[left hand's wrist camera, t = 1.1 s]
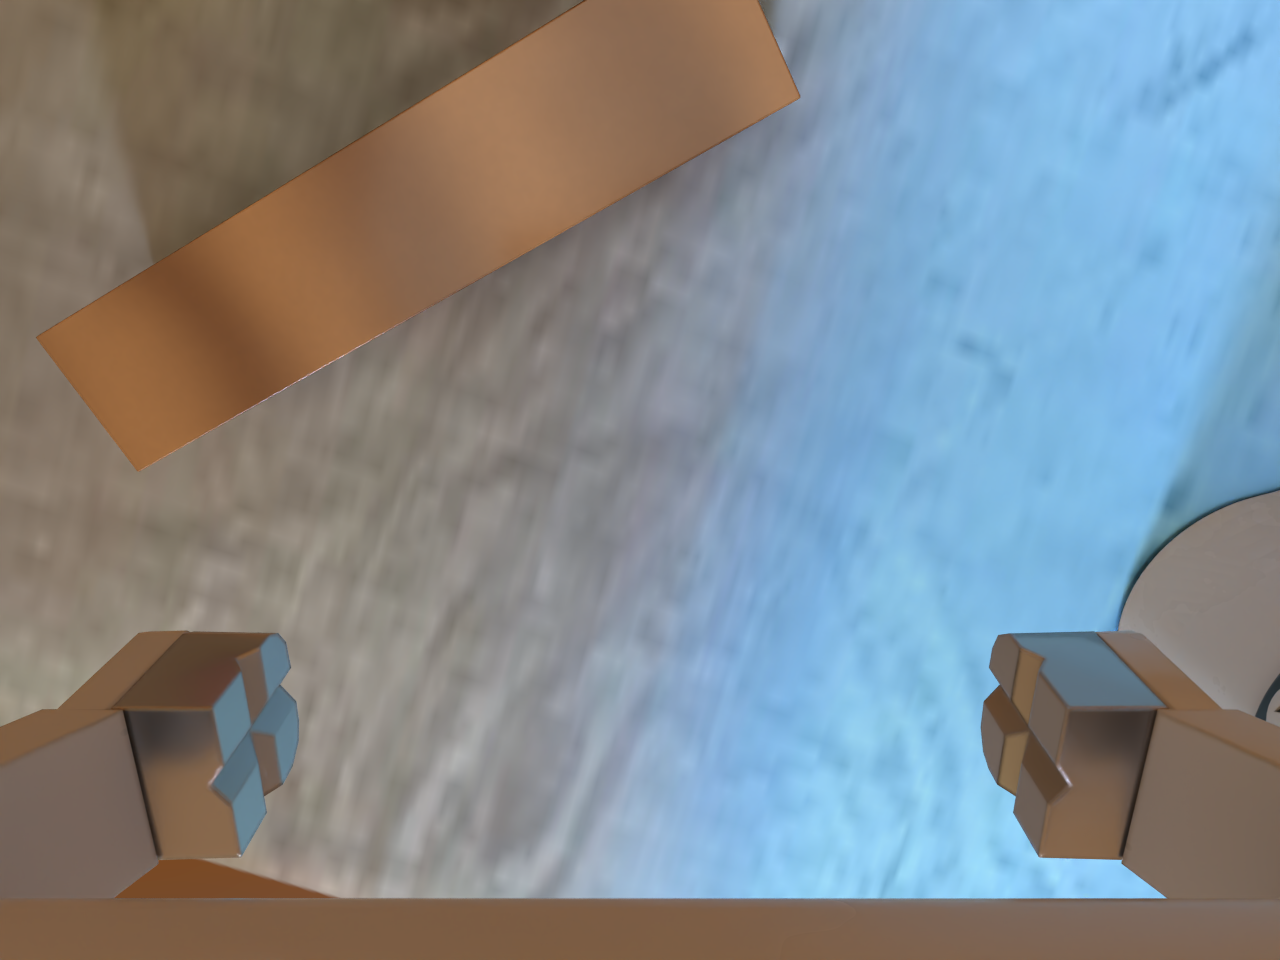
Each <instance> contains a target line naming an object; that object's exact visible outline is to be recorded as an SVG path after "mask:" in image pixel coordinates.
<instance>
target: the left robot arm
mask: <svg viewBox="0 0 1280 960" xmlns="http://www.w3.org/2000/svg"><path fill="white" fill-rule="evenodd" d="M290 668H291V665H290V660H289V655H288V650H287V645H286V642H285V640H284V639H283V638H282V637H281V636H280V635H279V634H278V633H247V632H189V631H151V632H143V633H138V634H137V635H136V636H135V637H134V638H133V639H132V640H131V641H130V642H129V643H127V644H126V645H125V646H124V647H123V648H122V649H121V650H120V651H119V652H118V653H117V654H116V655H115V656H114V657H112V658H111V659H110V660H109V661H108V662H107V663H106V664H105V665H104V666H103V667H102V668H101V669H100V670H99V671H98V672H96V673H95V674H94V675H93V676H92V677H91V678H90V679H89V680H88V681H87V682H86V683H85V684H84V685H83V686H82V687H80V688H79V689H78V690H77V691H76V692H75V693H74V694H73V695H72V696H71V697H70V698H69V699H68V700H67V701H66V702H64V703H63V704H62V705H61V706H60V707H59V708H58V709H42V710H40V711H37V712H35V713H33V714H30V715H28V716H25V717H23V718H21V719H18V720H16V721H13V722H11V723H9V724H6V725H4V726H1V727H0V960H1280V490H1279V491H1275V492H1271V493H1268V494H1264V495H1260V496H1256V497H1252V498H1248V499H1245V500H1242V501H1239V502H1236V503H1234V504H1231V505H1228V506H1226V507H1224V508H1222V509H1220V510H1217V511H1215V512H1213V513H1211V514H1209V515H1208V516H1206V517H1204V518H1202V519H1201V520H1199V521H1197V522H1196V523H1194V524H1193V525H1191V526H1190V527H1188V528H1187V529H1185V530H1184V531H1183V532H1181V533H1180V534H1179V535H1178V536H1176V537H1175V538H1174V539H1173V540H1172V541H1171V542H1169V543H1168V544H1167V545H1166V546H1165V547H1164V548H1163V549H1162V550H1161V551H1160V552H1159V553H1158V554H1157V555H1156V556H1155V558H1154V559H1153V560H1152V561H1151V562H1150V563H1149V565H1148V566H1147V567H1146V569H1145V570H1144V571H1143V573H1142V574H1141V576H1140V577H1139V579H1138V580H1137V582H1136V583H1135V585H1134V587H1133V589H1132V591H1131V593H1130V595H1129V597H1128V599H1127V601H1126V604H1125V606H1124V609H1123V612H1122V615H1121V618H1120V623H1119V627H1118V631H1104V632H1053V633H1012V634H1002V635H998V637H997V639H996V641H995V643H994V646H993V648H992V653H991V659H990V665H989V668H990V670H991V671H992V673H993V675H994V676H995V678H996V679H997V681H998V682H999V684H1000V685H999V686H998V687H997V688H996V689H995V690H994V691H993V692H992V693H991V694H990V696H989V697H988V698H987V699H986V700H985V701H984V704H983V712H982V721H981V735H982V745H983V752H984V756H985V759H986V762H987V765H988V768H989V770H990V772H991V774H992V776H993V778H994V779H995V781H996V783H997V785H999V786H1000V787H1002V788H1004V789H1005V790H1007V791H1008V792H1010V793H1012V794H1013V795H1015V796H1016V799H1015V805H1014V811H1013V813H1014V815H1015V817H1016V818H1017V820H1018V822H1019V823H1020V825H1021V827H1022V829H1023V830H1024V832H1025V834H1026V836H1027V837H1028V839H1029V841H1030V842H1031V844H1032V846H1033V848H1034V849H1035V851H1036V853H1037V855H1038V856H1039V858H1076V859H1112V860H1122V864H1123V865H1124V866H1126V867H1127V868H1128V869H1130V870H1131V871H1132V872H1133V873H1135V874H1136V875H1137V876H1139V877H1140V878H1141V879H1143V880H1144V881H1145V882H1147V883H1148V884H1149V885H1151V886H1152V887H1153V888H1155V889H1156V890H1157V891H1159V892H1160V893H1161V894H1162V895H1164V896H1165V897H1166V898H811V899H810V898H801V899H800V898H791V899H790V898H781V899H780V898H776V899H775V898H773V899H772V898H771V899H770V898H766V899H765V898H756V899H755V898H751V899H750V898H749V899H748V898H746V899H745V898H744V899H743V898H741V899H740V898H739V899H737V898H736V899H735V898H734V899H733V898H731V899H730V898H729V899H727V898H726V899H725V898H724V899H722V898H721V899H720V898H719V899H717V898H716V899H715V898H714V899H712V898H711V899H710V898H709V899H708V898H706V899H705V898H704V899H702V898H701V899H700V898H699V899H698V898H696V899H695V898H694V899H692V898H691V899H690V898H689V899H685V898H684V899H680V898H679V899H670V898H669V899H663V898H662V899H660V898H659V899H655V898H654V899H645V898H644V899H511V898H114V897H115V896H116V895H118V894H119V893H120V892H122V891H123V890H124V889H126V888H127V887H128V886H130V885H131V884H132V883H134V882H135V881H136V880H138V879H139V878H140V877H141V876H143V875H144V874H145V873H147V872H148V871H149V870H151V869H152V868H153V867H155V866H156V865H157V864H158V860H167V859H202V858H238V857H241V856H242V855H243V853H244V851H245V849H246V848H247V846H248V844H249V843H250V841H251V839H252V837H253V836H254V834H255V832H256V830H257V829H258V827H259V825H260V823H261V822H262V820H263V818H264V817H265V815H266V813H267V811H266V805H265V799H264V796H265V795H267V794H268V793H270V792H272V791H273V790H275V789H276V788H278V787H280V786H281V785H283V783H284V781H285V779H286V777H287V776H288V774H289V772H290V770H291V768H292V766H293V762H294V758H295V754H296V750H297V745H298V740H299V718H298V711H297V704H296V701H295V700H294V699H293V698H292V697H291V696H290V694H289V693H288V692H287V691H286V690H285V689H284V688H283V687H282V686H281V685H280V684H281V682H282V681H283V679H284V678H285V676H286V674H287V673H288V671H289V670H290Z"/></svg>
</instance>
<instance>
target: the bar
mask: <svg viewBox="0 0 1280 960" xmlns="http://www.w3.org/2000/svg"><path fill="white" fill-rule="evenodd" d="M799 98H800V94H799V92H798V89H797V87H796V85H795V83H794V80H793V78H792V76H791V74H790V71H789V69H788V67H787V65H786V62H785V60H784V58H783V55H782V53H781V51H780V49H779V46H778V44H777V42H776V40H775V37H774V35H773V33H772V30H771V28H770V26H769V24H768V21H767V19H766V17H765V15H764V12H763V10H762V8H761V6H760V3H759V1H758V0H584V1H582V2H581V3H579V4H577V5H576V6H574V7H573V8H571V9H569V10H568V11H566V12H564V13H563V14H561V15H560V16H558V17H556V18H555V19H553V20H551V21H550V22H548V23H547V24H545V25H543V26H542V27H540V28H538V29H537V30H535V31H534V32H532V33H530V34H529V35H527V36H525V37H524V38H522V39H520V40H519V41H517V42H516V43H514V44H512V45H511V46H509V47H507V48H506V49H504V50H503V51H501V52H499V53H498V54H496V55H494V56H493V57H491V58H490V59H488V60H486V61H485V62H483V63H481V64H480V65H478V66H477V67H475V68H473V69H472V70H470V71H468V72H467V73H465V74H463V75H462V76H460V77H459V78H457V79H455V80H454V81H452V82H450V83H449V84H447V85H446V86H444V87H442V88H441V89H439V90H437V91H436V92H434V93H433V94H431V95H429V96H428V97H426V98H424V99H423V100H421V101H420V102H418V103H416V104H415V105H413V106H411V107H410V108H408V109H406V110H405V111H403V112H402V113H400V114H398V115H397V116H395V117H393V118H392V119H390V120H389V121H387V122H385V123H384V124H382V125H380V126H379V127H377V128H376V129H374V130H372V131H371V132H369V133H367V134H366V135H364V136H362V137H361V138H359V139H358V140H356V141H354V142H353V143H351V144H349V145H348V146H346V147H345V148H343V149H341V150H340V151H338V152H336V153H335V154H333V155H332V156H330V157H328V158H327V159H325V160H323V161H322V162H320V163H319V164H317V165H315V166H314V167H312V168H310V169H309V170H307V171H305V172H304V173H302V174H301V175H299V176H297V177H296V178H294V179H292V180H291V181H289V182H288V183H286V184H284V185H283V186H281V187H279V188H278V189H276V190H275V191H273V192H271V193H270V194H268V195H266V196H265V197H263V198H262V199H260V200H258V201H257V202H255V203H253V204H252V205H250V206H248V207H247V208H245V209H244V210H242V211H240V212H239V213H237V214H235V215H234V216H232V217H231V218H229V219H227V220H226V221H224V222H222V223H221V224H219V225H218V226H216V227H214V228H213V229H211V230H209V231H208V232H206V233H205V234H203V235H201V236H200V237H198V238H196V239H195V240H193V241H191V242H190V243H188V244H187V245H185V246H183V247H182V248H180V249H178V250H177V251H175V252H174V253H172V254H170V255H169V256H167V257H165V258H164V259H162V260H161V261H159V262H157V263H156V264H154V265H152V266H151V267H149V268H148V269H146V270H144V271H143V272H141V273H139V274H138V275H136V276H134V277H133V278H131V279H130V280H128V281H126V282H125V283H123V284H121V285H120V286H118V287H117V288H115V289H113V290H112V291H110V292H108V293H107V294H105V295H104V296H102V297H100V298H99V299H97V300H95V301H94V302H92V303H91V304H89V305H87V306H86V307H84V308H82V309H81V310H79V311H77V312H76V313H74V314H73V315H71V316H69V317H68V318H66V319H64V320H63V321H61V322H60V323H58V324H56V325H55V326H53V327H51V328H50V329H48V330H47V331H45V332H43V333H42V334H40V335H38V336H37V337H36V338H37V340H38V341H39V342H40V344H41V345H42V346H43V347H44V349H45V350H46V351H47V353H48V354H49V355H50V357H51V358H52V359H53V361H54V362H55V363H56V365H57V366H58V367H59V369H60V370H61V371H62V373H63V374H64V375H65V376H66V378H67V379H68V380H69V382H70V383H71V384H72V386H73V387H74V388H75V390H76V391H77V392H78V394H79V395H80V396H81V398H82V399H83V400H84V402H85V403H86V404H87V405H88V407H89V408H90V409H91V411H92V412H93V413H94V415H95V416H96V417H97V419H98V420H99V421H100V423H101V424H102V425H103V427H104V428H105V429H106V430H107V432H108V433H109V434H110V436H111V437H112V438H113V440H114V441H115V442H116V444H117V445H118V446H119V448H120V449H121V450H122V452H123V453H124V454H125V456H126V457H127V458H128V459H129V461H130V462H131V463H132V465H133V466H134V467H135V469H136V470H137V471H141V470H143V469H145V468H146V467H148V466H150V465H152V464H153V463H155V462H157V461H159V460H161V459H162V458H164V457H166V456H168V455H169V454H171V453H173V452H175V451H176V450H178V449H180V448H182V447H184V446H185V445H187V444H189V443H191V442H192V441H194V440H196V439H198V438H200V437H201V436H203V435H205V434H207V433H208V432H210V431H212V430H214V429H215V428H217V427H219V426H221V425H223V424H224V423H226V422H228V421H230V420H231V419H233V418H235V417H237V416H238V415H240V414H242V413H244V412H246V411H247V410H249V409H251V408H253V407H254V406H256V405H258V404H260V403H261V402H263V401H265V400H267V399H269V398H270V397H272V396H274V395H276V394H277V393H279V392H281V391H283V390H284V389H286V388H288V387H290V386H292V385H293V384H295V383H297V382H299V381H300V380H302V379H304V378H306V377H307V376H309V375H311V374H313V373H315V372H316V371H318V370H320V369H322V368H323V367H325V366H327V365H329V364H330V363H332V362H334V361H336V360H338V359H339V358H341V357H343V356H345V355H346V354H348V353H350V352H352V351H353V350H355V349H357V348H359V347H361V346H362V345H364V344H366V343H368V342H369V341H371V340H373V339H375V338H376V337H378V336H380V335H382V334H384V333H385V332H387V331H389V330H391V329H392V328H394V327H396V326H398V325H399V324H401V323H403V322H405V321H407V320H408V319H410V318H412V317H414V316H415V315H417V314H419V313H421V312H422V311H424V310H426V309H428V308H430V307H431V306H433V305H435V304H437V303H438V302H440V301H442V300H444V299H445V298H447V297H449V296H451V295H453V294H454V293H456V292H458V291H460V290H461V289H463V288H465V287H467V286H468V285H470V284H472V283H474V282H476V281H477V280H479V279H481V278H483V277H484V276H486V275H488V274H490V273H491V272H493V271H495V270H497V269H499V268H500V267H502V266H504V265H506V264H507V263H509V262H511V261H513V260H514V259H516V258H518V257H520V256H522V255H523V254H525V253H527V252H529V251H530V250H532V249H534V248H536V247H538V246H539V245H541V244H543V243H545V242H546V241H548V240H550V239H552V238H553V237H555V236H557V235H559V234H561V233H562V232H564V231H566V230H568V229H569V228H571V227H573V226H575V225H576V224H578V223H580V222H582V221H584V220H585V219H587V218H589V217H591V216H592V215H594V214H596V213H598V212H599V211H601V210H603V209H605V208H607V207H608V206H610V205H612V204H614V203H615V202H617V201H619V200H621V199H622V198H624V197H626V196H628V195H630V194H631V193H633V192H635V191H637V190H638V189H640V188H642V187H644V186H645V185H647V184H649V183H651V182H653V181H654V180H656V179H658V178H660V177H661V176H663V175H665V174H667V173H668V172H670V171H672V170H674V169H676V168H677V167H679V166H681V165H683V164H684V163H686V162H688V161H690V160H691V159H693V158H695V157H697V156H699V155H700V154H702V153H704V152H706V151H707V150H709V149H711V148H713V147H714V146H716V145H718V144H720V143H722V142H723V141H725V140H727V139H729V138H730V137H732V136H734V135H736V134H737V133H739V132H741V131H743V130H745V129H746V128H748V127H750V126H752V125H753V124H755V123H757V122H759V121H760V120H762V119H764V118H766V117H768V116H769V115H771V114H773V113H775V112H776V111H778V110H780V109H782V108H783V107H785V106H787V105H789V104H791V103H792V102H794V101H796V100H798V99H799Z"/></svg>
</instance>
